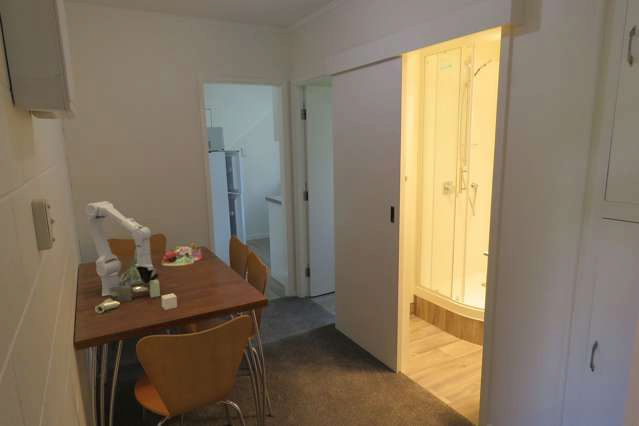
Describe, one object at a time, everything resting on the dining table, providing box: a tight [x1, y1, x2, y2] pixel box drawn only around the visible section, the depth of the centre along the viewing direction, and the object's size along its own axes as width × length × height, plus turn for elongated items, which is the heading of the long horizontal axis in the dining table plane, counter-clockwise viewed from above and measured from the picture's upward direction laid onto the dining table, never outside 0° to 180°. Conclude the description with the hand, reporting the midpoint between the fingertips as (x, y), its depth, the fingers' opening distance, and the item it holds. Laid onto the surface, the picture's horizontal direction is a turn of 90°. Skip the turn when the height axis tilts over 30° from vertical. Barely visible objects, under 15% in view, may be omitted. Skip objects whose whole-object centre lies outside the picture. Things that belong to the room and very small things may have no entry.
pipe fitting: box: [94, 297, 121, 314], centre depth 167 cm, size 8×4×7 cm
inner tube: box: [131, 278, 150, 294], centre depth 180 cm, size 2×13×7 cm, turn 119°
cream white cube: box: [160, 293, 178, 311], centre depth 169 cm, size 5×5×5 cm
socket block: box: [148, 279, 161, 298], centre depth 184 cm, size 6×4×6 cm, turn 29°
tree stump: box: [118, 248, 158, 287], centre depth 207 cm, size 19×21×19 cm
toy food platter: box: [161, 243, 203, 267], centre depth 243 cm, size 25×24×9 cm
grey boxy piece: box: [109, 285, 133, 304], centre depth 177 cm, size 5×8×6 cm, turn 119°
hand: (146, 281), depth 182 cm, fingers open, 2 cm apart
